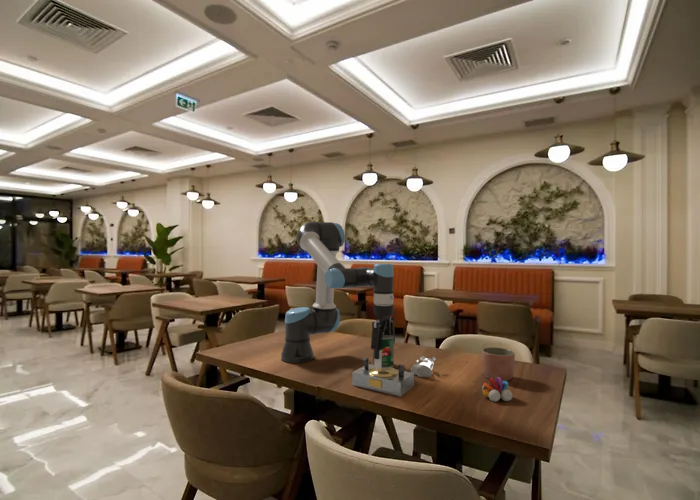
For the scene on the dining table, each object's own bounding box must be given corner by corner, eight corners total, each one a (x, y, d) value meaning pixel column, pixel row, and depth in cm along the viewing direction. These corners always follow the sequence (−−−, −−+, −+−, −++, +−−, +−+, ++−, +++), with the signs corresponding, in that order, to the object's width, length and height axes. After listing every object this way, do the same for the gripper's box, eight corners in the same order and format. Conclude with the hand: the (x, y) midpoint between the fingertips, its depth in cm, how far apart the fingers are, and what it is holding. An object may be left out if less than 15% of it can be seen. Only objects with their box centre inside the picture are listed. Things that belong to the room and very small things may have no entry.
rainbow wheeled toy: (478, 393, 134) (478, 373, 134) (503, 393, 135) (504, 373, 135) (488, 403, 125) (489, 382, 125) (516, 402, 126) (516, 381, 126)
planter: (475, 375, 154) (475, 348, 154) (498, 371, 158) (498, 345, 158) (497, 385, 142) (497, 356, 142) (521, 381, 147) (521, 353, 147)
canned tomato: (375, 368, 136) (375, 338, 136) (370, 362, 144) (371, 333, 144) (396, 367, 138) (396, 338, 138) (390, 361, 145) (390, 333, 145)
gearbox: (351, 385, 141) (351, 361, 141) (368, 376, 151) (368, 354, 151) (399, 397, 130) (400, 371, 130) (413, 386, 141) (414, 362, 141)
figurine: (407, 365, 152) (419, 353, 162) (409, 379, 153) (421, 366, 163) (429, 367, 147) (439, 355, 157) (431, 382, 148) (441, 369, 158)
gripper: (379, 308, 130) (379, 373, 130) (403, 301, 148) (403, 359, 148) (361, 306, 134) (360, 370, 134) (387, 300, 152) (386, 356, 152)
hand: (383, 364), depth 141 cm, fingers closed on canned tomato, 8 cm apart
